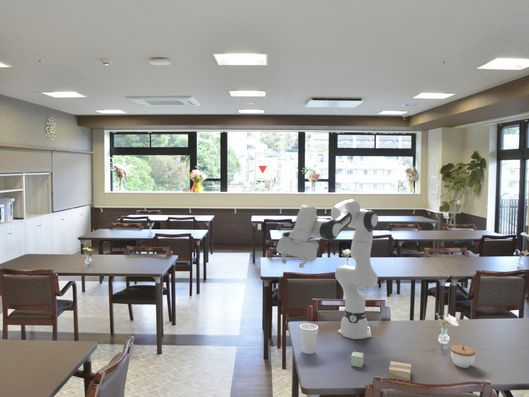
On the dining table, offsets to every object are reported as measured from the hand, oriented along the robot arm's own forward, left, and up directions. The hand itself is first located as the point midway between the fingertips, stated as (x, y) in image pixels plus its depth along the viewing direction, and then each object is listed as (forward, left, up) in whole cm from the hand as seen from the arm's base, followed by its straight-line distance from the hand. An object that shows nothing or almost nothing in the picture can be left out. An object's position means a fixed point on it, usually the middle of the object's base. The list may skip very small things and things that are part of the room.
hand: (292, 265), depth 205 cm
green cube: (-13, +29, -48) cm, 58 cm away
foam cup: (-18, +4, -48) cm, 52 cm away
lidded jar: (-32, +76, -48) cm, 96 cm away
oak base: (-9, +49, -48) cm, 69 cm away
